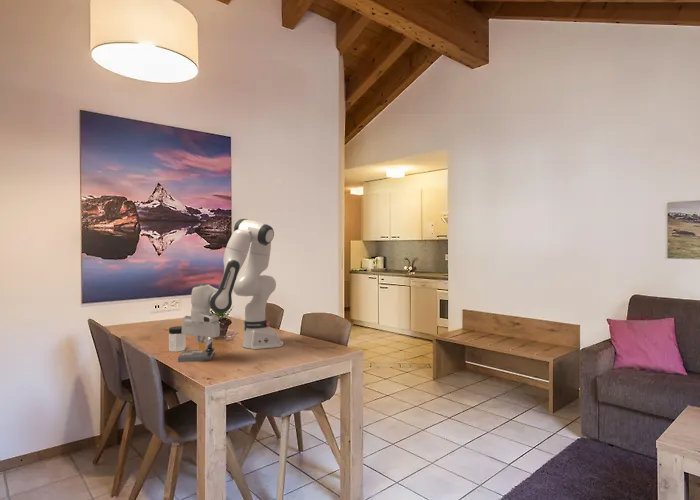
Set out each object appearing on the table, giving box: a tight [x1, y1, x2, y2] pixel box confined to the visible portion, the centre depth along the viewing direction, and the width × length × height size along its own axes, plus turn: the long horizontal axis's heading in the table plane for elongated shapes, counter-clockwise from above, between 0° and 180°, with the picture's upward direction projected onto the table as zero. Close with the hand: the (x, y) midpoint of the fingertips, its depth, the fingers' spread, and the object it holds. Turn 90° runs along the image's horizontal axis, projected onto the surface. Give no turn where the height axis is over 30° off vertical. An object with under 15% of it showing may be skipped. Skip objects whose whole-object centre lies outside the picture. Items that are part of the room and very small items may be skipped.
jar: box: [168, 325, 187, 353], centre depth 237 cm, size 9×8×12 cm
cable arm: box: [198, 337, 214, 351], centre depth 220 cm, size 17×3×4 cm, turn 5°
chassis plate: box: [177, 343, 215, 363], centre depth 221 cm, size 15×15×6 cm
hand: (200, 344), depth 217 cm, fingers closed
